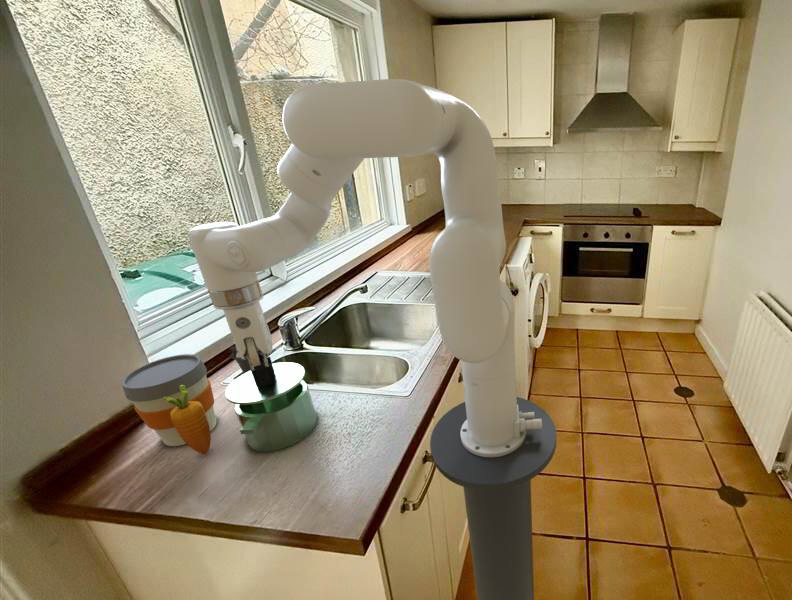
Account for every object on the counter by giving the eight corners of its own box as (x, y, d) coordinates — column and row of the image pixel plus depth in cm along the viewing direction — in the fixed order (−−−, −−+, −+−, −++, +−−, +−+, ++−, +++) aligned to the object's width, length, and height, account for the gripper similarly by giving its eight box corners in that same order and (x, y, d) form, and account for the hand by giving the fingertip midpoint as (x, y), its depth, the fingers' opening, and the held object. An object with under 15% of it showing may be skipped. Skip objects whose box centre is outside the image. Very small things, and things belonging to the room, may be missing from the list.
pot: (331, 400, 90) (322, 369, 86) (292, 460, 73) (280, 424, 70) (276, 403, 89) (265, 372, 86) (225, 464, 73) (209, 428, 70)
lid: (317, 365, 83) (309, 337, 81) (284, 405, 71) (274, 375, 68) (253, 368, 83) (243, 340, 80) (209, 409, 71) (196, 378, 68)
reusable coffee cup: (220, 403, 90) (197, 347, 84) (232, 429, 82) (207, 368, 76) (149, 431, 82) (118, 371, 76) (154, 463, 74) (120, 398, 68)
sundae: (281, 381, 98) (264, 327, 92) (258, 397, 92) (238, 341, 86) (261, 377, 100) (242, 325, 94) (237, 393, 94) (216, 338, 88)
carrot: (199, 466, 73) (168, 400, 67) (184, 458, 75) (152, 394, 69) (226, 448, 77) (199, 384, 71) (211, 441, 79) (184, 379, 73)
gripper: (261, 303, 65) (290, 394, 72) (260, 277, 77) (285, 357, 85) (206, 314, 61) (243, 409, 68) (215, 285, 74) (245, 368, 81)
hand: (266, 380), depth 76 cm, fingers closed on lid, 2 cm apart
